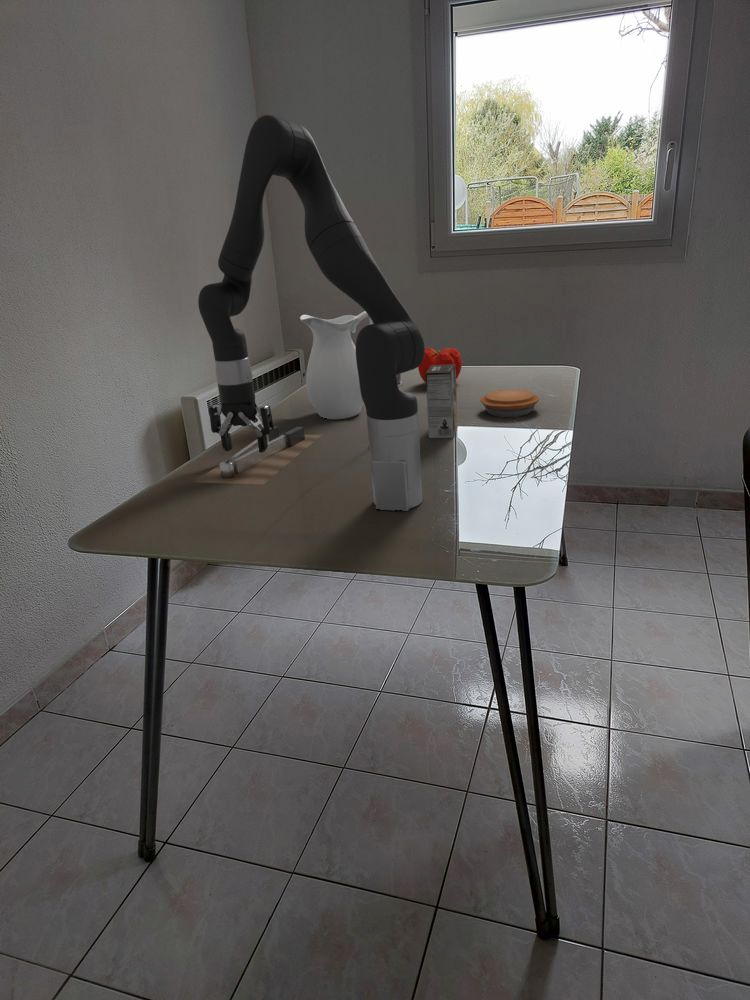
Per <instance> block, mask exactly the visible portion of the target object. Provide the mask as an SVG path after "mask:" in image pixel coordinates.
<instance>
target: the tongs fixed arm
mask: <svg viewBox="0 0 750 1000" xmlns="http://www.w3.org/2000/svg"><path fill="white" fill-rule="evenodd" d="M279 434H280V430H279V426H277V425H276V426H275V425H274V430H273V431H272V432H270V433H269V434H267V435H266V436H267V443H268V442H270V441H272V440H274V439H276V438H278V437H280V435H279ZM254 440H255V441H254ZM254 440H253V441H254V442H253V441H252V442H253V443H251V442H250V443H251V444H250V443H249V444H250V445H249V444H247V445H248V446H247V445H246V446H247V447H246V446H245V448H244V447H243V448H244V449H243V448H242V450H241V449H240V450H241V451H240V450H239V451H240V452H238V451H237V452H238V453H237V452H236V453H237V454H235V453H234V454H235V455H234V454H233V455H234V456H233V455H231V456H232V457H231V456H230V457H231V458H230V457H228V458H229V459H228V458H227V459H228V460H227V459H226V460H227V461H225V460H224V461H221V462H220V463H219V465H220V470H221V476H222V478H223V479H229V478H233V477H234V476H235V472H234V466H233V460H235V459H237V458H239V457H241V456H243V455H245V454H247V453H248V452H250V451H252V450H254V449H256V448H258V440H256V439H254Z"/></svg>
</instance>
